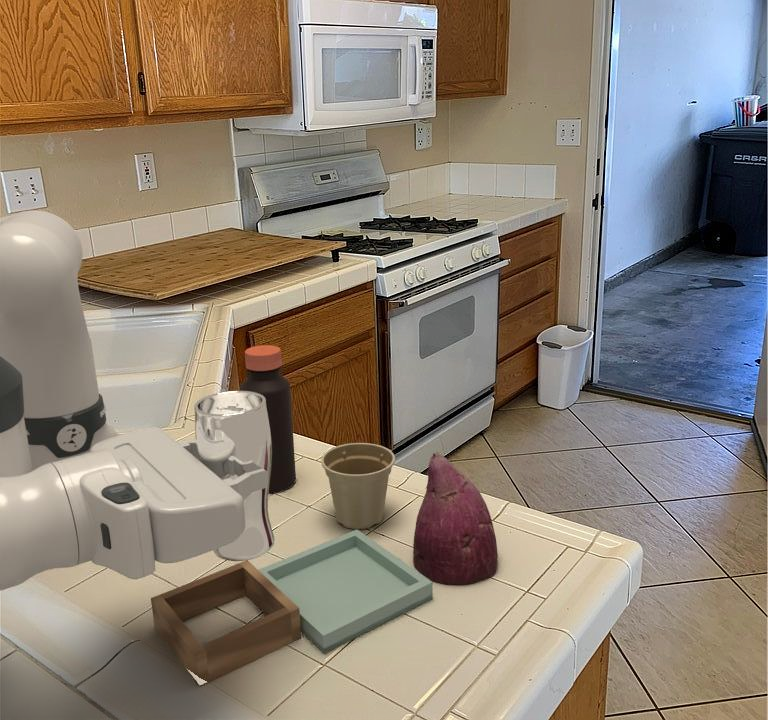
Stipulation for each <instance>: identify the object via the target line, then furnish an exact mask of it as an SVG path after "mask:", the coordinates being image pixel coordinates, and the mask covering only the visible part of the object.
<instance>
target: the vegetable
mask: <svg viewBox="0 0 768 720" xmlns="http://www.w3.org/2000/svg"><path fill="white" fill-rule="evenodd" d="M427 469H428V473H427V484H426V487H425V494H424V496H423V500H422V502H421V505H420V508H419V510H418V513H417V516H416V521H415V529H414V534H413V544H412V545H413V550H412V551H413V554H412V556H413V557H412V563H413V566H414V569H415V570H416V571H417V572H419V573H420V574H422V575H423V576H425V577H426V578H427V579H429V580H430V581H432V582H435V583H440V584H444V585H456V586H457V585H461V586H462V585H464V586H465V585H469V584H470V585H471V584H475V583H479V582H481V581H485V580H487V579H490V578H492V577H493V576H494V575H495V574H496V573H497V572H498V571H497V569H498V559H499V557H498V556H499V555H498V545H497V538H496V537H497V536H496V534H495V528H494V524H493V520H492V516H491V512H490V511H489V508H488V505H487V503H486V501H485V499H484V497H483V495H482V494H481V492H480V490H479V489H478V487H476V484H475V483H473V482H472V481H471V479H469V478H468V477H467V476H466V475H465V474H463V473H462V472H461V471H460V470H459V469H457V467H456V466H454V464H453V463H452V462H451V461H450V460H448V459H447V458H446V457H445V456H443V455H441V454H440V452H438V450H433V453H432V456H431V457H430V459H429V462H428V468H427Z"/></svg>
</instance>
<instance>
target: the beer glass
mask: <svg viewBox="0 0 768 720" xmlns="http://www.w3.org/2000/svg"><path fill="white" fill-rule="evenodd" d="M193 407H194V408H193V409H194V428H195V429H194V432H195V433H194V434H195V440H196V449H197V456H198V460H199V461H200V462H201V463H203V464H204V465H205V466H206V467H207V468H209V469H210V470H211V471H212V472H213V473H215V474H216V475H217V476H218V477H219V478H220V479H222V480H224V479H228V478H232V479H233V480H235V479H236V478H238V477H240V476H241V475H243V469H247V468H251V467H254V466H260V467H261V468H263V469H264V470H265V471H267V473H268V486H267V487H266V488H264V489H261V490H258V491H255V492H252V493H251V494H250V495H249V496H248V497H247V498H246V499H245V500H244V501H243V502H244V511H245V530H244V532H243V533H242V534H241V535H240V537H239V538H238V539H237V540H235V541H233V542H232V543H229V544H227V545H225V546H222V547H220V548H217V549H215V550H212V551H213V553H214V554H215V556H217V557H218V558H220V559H222V560H225V561H230V562H231V561H232V562H243V561H246V560H248V561H250V560H253V559H257V558H259V557H262V556H264V555H265V554H267V553H268V552H269V551H270V550H271V549H272V548H274V545H275V540H276V539H275V535H274V531H273V529H272V524H271V521H270V516H269V504H268V503H269V493H268V492H269V483H270V474H271V461H272V444H271V433H270V425H269V419H268V413H267V407H266V399H265V397H264V396H263V395H261V394H259V393H255V392H250V391H241V390H229V391H222V392H215V393H213V394H209V395H207V396H203V397H202V398H200V399H199V400H197V401H196V402H195V404H194V406H193Z"/></svg>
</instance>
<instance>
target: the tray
mask: <svg viewBox="0 0 768 720" xmlns="http://www.w3.org/2000/svg"><path fill="white" fill-rule="evenodd" d="M258 570H259V571H260V572H261V573H262V574H263V575H264V576H265V577H266V578H267V579H268V580H269V581H271V582H272V583H273V584H274V585H275V586H276V587H277V588H278V589H279V590H280V591H281V592H282V593H283V594H285V595H286V596H287V597H288V598H289V599H290V600H291V601H292V602H293V603H294V604H295V605H296V606H298V607H299V611H300V627H301V634H303V635H304V636H305V637H307V638H308V640H310V641H311V643H312V644H314V645H315V647H317V648H318V649H319V650H320V652H322V653H323V655H324V654H327V653H329V652H331V651H333V650H334V649H336V648H337V649H338V648H339V647H341V646H342V645H344V644H347V643H349V642H350V641H352V640H355V639H356V638H358V637H360V636H362V635H364V634H366V633H368V632H370V631H372V630H375V629H376V628H378V627H380V626H382V625H384V624H385V623H388V622H390V621H392V620H394V619H396V618H397V617H399V616H402V615H403V614H406V613H407V612H409V611H411V610H413V609H415V608H417V607H420V606H421V605H424V604H425V603H427V602H429V601H431V600H433V599H434V598H433V594H434V593H433V590H434V589H433V588H434V587H433V585H434V583H433V582H434V581H432V580H430V579H428V578H427V577H426V576H424V575H423V574H422V573H420V572H419V571H418V570H417V569H415V568H413V567H412V566H410V565H409V564H408V563H405V561H403V560H402V559H400V558H398V557H397V556H396V555H395V554H393V553H391V552H390V551H388V550H387V549H386V548H385V547H383V546H382V545H380V544H378V543H377V542H375V541H374V540H373V539H371V538H370V537H368V536H367V535H366V534H364V533H363V532H362V531H360V530H359V529H353V530H352V531H350V532H347V533H345V534H343V535H340V536H338V537H335V538H333V539H330V540H328V541H325V542H323V543H321V544H318V545H316V546H313V547H311V548H308V549H306V550H302V551H301V552H298V553H296V554H293V555H291V556H289V557H286V558H283V559H281V560H278V561H276V562H274V563H272V564H269V565H266V566H264V567H261V568H259V569H258Z"/></svg>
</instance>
